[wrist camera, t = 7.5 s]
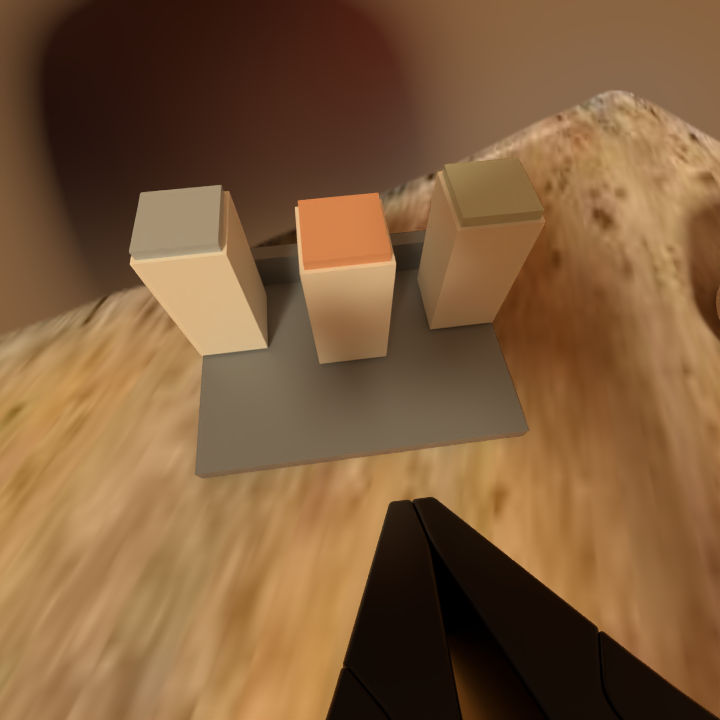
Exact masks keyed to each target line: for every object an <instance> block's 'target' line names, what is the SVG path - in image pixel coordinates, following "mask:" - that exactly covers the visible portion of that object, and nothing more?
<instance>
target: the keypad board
mask: <svg viewBox="0 0 720 720" xmlns="http://www.w3.org/2000/svg"><path fill="white" fill-rule="evenodd" d="M389 235H390V239H391V244H392V248H393V252H394V257H395V261H396V271H395V280H394V290H393V299H392V308H391V317H390V327H389V336H388V345H387V354H386V356H383V357H375V358H366V359H358V360H349V361H341V362H333V363H324V364H320V363H319V359H318V354H317V350H316V345H315V341H314V336H313V332H312V327H311V323H310V318H309V314H308V309H307V305H306V300H305V296H304V291H303V287H302V282H301V278H300V270H299V256H298V243H296V244H287V245H277V246H267V247H257V248H250V250H251V253H252V256H253V259H254V261H255V264H256V267H257V270H258V272H259V275H260V278H261V281H262V284H263V286H264V289H265V292H266V295H267V328H268V348H263V349H255V350H246V351H238V352H229V353H220V354H212V355H203V366H202V380H201V395H200V410H199V425H198V439H197V454H196V469H195V475H197V476H199V477H201V478H208V477H215V476H223V475H230V474H238V473H245V472H253V471H260V470H268V469H275V468H283V467H290V466H298V465H305V464H313V463H320V462H328V461H335V460H343V459H350V458H358V457H365V456H373V455H380V454H388V453H395V452H403V451H411V450H418V449H426V448H433V447H441V446H448V445H456V444H463V443H471V442H478V441H486V440H493V439H501V438H508V437H516V436H523V435H524V434H525V433H526V432H527V431H529V429H528V426H527V423H526V420H525V417H524V414H523V411H522V408H521V406H520V403H519V400H518V397H517V394H516V391H515V388H514V385H513V382H512V380H511V377H510V374H509V371H508V368H507V365H506V362H505V359H504V357H503V354H502V351H501V348H500V345H499V342H498V339H497V336H496V333H495V331H494V328H493V325H492V322H490V323H481V324H473V325H464V326H455V327H447V328H438V329H430V328H429V324H428V320H427V316H426V312H425V308H424V304H423V300H422V296H421V292H420V288H419V284H418V280H417V278H418V272H419V267H420V262H421V256H422V251H423V245H424V240H425V235H426V230H423V231H413V232H403V233H393V234H389Z"/></svg>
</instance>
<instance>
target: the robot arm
mask: <svg viewBox="0 0 720 720" xmlns="http://www.w3.org/2000/svg"><path fill="white" fill-rule="evenodd" d="M326 720H720V719H719V718H718V717H717V716H715V715H714V714H712V713H711V712H710V711H708V710H707V709H705V708H704V707H703V706H701V705H700V704H698V703H697V702H696V701H694V700H693V699H691V698H690V697H689V696H687V695H686V694H684V693H683V692H681V691H680V690H679V689H677V688H676V687H675V686H673V685H672V684H671V683H669V682H668V681H667V680H666V679H664V678H663V677H662V676H660V675H659V674H658V673H656V672H655V671H654V670H652V669H651V668H650V667H649V666H647V665H646V664H645V663H643V662H642V661H641V660H639V659H638V658H637V657H635V656H634V655H633V654H631V653H630V652H629V651H628V650H626V649H625V648H624V647H623V646H621V645H620V644H619V643H618V642H616V641H615V640H614V639H612V638H611V637H610V636H609V635H607V634H606V633H605V632H603V631H601V632H599V631H598V627H597V626H596V625H594V624H593V623H592V622H591V621H589V620H588V619H587V618H586V617H584V616H583V615H582V614H581V613H579V612H578V611H577V610H576V609H574V608H573V607H572V606H570V605H569V604H568V603H567V602H565V601H564V600H563V599H562V598H560V597H559V596H558V595H557V594H555V593H554V592H553V591H552V590H550V589H549V588H548V587H547V586H545V585H544V584H543V583H541V582H540V581H539V580H538V579H536V578H535V577H534V576H533V575H531V574H530V573H529V572H528V571H526V570H525V569H524V568H523V567H521V566H520V565H519V564H517V563H516V562H515V561H514V560H512V559H511V558H510V557H509V556H507V555H506V554H505V553H504V552H502V551H501V550H500V549H499V548H497V547H496V546H495V545H493V544H492V543H491V542H490V541H488V540H487V539H486V538H485V537H483V536H482V535H481V534H480V533H478V532H477V531H476V530H475V529H473V528H472V527H471V526H470V525H468V524H467V523H466V522H464V521H463V520H462V519H461V518H459V517H458V516H457V515H456V514H454V513H453V512H452V511H451V510H449V509H448V508H447V507H446V506H444V505H443V504H442V503H440V502H439V501H438V500H437V499H435V498H433V497H427V498H419V499H414V500H413V502H411V501H410V500H402V501H393V502H391V503H390V504H389V506H388V510H387V513H386V517H385V520H384V524H383V527H382V531H381V534H380V537H379V541H378V544H377V548H376V551H375V555H374V558H373V562H372V565H371V569H370V572H369V575H368V579H367V582H366V586H365V589H364V593H363V596H362V600H361V603H360V607H359V610H358V613H357V617H356V620H355V624H354V627H353V631H352V634H351V638H350V641H349V645H348V648H347V651H346V655H345V658H344V662H343V668H342V669H341V671H340V674H339V678H338V681H337V685H336V688H335V692H334V695H333V698H332V702H331V705H330V708H329V711H328V714H327V717H326Z"/></svg>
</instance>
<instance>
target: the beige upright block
mask: <svg viewBox="0 0 720 720" xmlns="http://www.w3.org/2000/svg"><path fill="white" fill-rule="evenodd" d="M544 211H545V209H544V208H543V206H542V204H541V202H540V200H539V198H538V196H537V194H536V192H535V190H534V188H533V186H532V184H531V182H530V180H529V178H528V176H527V174H526V172H525V170H524V168H523V166H522V164H521V162H520V160H519V158H509V159H498V160H487V161H477V162H466V163H455V164H445V165H444V168H443V171H440V172H437V176H436V181H435V187H434V192H433V197H432V203H431V208H430V213H429V219H428V224H427V229H426V235H425V240H424V245H423V251H422V256H421V262H420V267H419V272H418V278H417V280H418V284H419V288H420V292H421V296H422V300H423V304H424V308H425V312H426V316H427V320H428V324H429V328H430V329H438V328H447V327H455V326H464V325H473V324H481V323H490V322H493V321H494V319H495V317H496V315H497V313H498V311H499V309H500V308H501V306H502V304H503V302H504V300H505V298H506V296H507V294H508V293H509V291H510V289H511V287H512V285H513V283H514V281H515V279H516V278H517V276H518V274H519V272H520V270H521V268H522V266H523V264H524V263H525V261H526V259H527V257H528V255H529V253H530V251H531V249H532V248H533V246H534V244H535V242H536V240H537V238H538V236H539V234H540V233H541V231H542V229H543V227H544V225H545V223H546V221H545V219H544V217H543V213H544Z"/></svg>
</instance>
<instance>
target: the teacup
mask: <svg viewBox="0 0 720 720" xmlns="http://www.w3.org/2000/svg"><path fill="white" fill-rule="evenodd" d="M716 308H717V313H718V317H719V320H720V285H719V288H718V291H717V296H716Z"/></svg>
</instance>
